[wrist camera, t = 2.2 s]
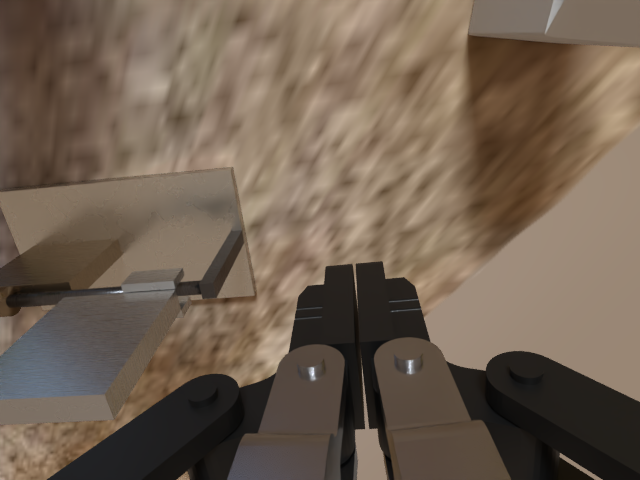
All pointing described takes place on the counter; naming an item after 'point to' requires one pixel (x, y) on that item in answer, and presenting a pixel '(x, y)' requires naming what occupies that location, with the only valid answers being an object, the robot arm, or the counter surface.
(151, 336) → the knuckle leaf
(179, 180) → the pin leaf jig
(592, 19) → the milk carton
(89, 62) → the counter surface
